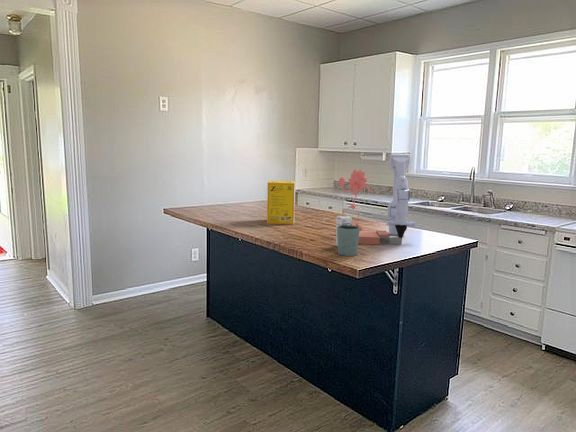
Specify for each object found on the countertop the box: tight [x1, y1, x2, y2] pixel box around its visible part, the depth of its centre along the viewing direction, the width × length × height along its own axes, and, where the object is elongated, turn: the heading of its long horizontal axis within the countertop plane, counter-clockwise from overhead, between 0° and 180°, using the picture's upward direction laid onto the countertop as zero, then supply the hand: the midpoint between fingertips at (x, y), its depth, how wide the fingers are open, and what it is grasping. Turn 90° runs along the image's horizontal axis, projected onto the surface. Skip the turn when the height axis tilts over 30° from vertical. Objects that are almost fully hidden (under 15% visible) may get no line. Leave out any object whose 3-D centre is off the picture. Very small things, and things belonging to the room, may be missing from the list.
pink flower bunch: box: [338, 169, 374, 231], centre depth 244 cm, size 15×26×35 cm, turn 38°
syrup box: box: [335, 215, 353, 247], centre depth 209 cm, size 6×6×14 cm
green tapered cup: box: [337, 225, 361, 257], centre depth 195 cm, size 10×10×12 cm
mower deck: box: [358, 229, 403, 246], centre depth 224 cm, size 16×21×4 cm
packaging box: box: [266, 180, 296, 225], centre depth 275 cm, size 16×16×25 cm
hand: (400, 239), depth 223 cm, fingers closed
